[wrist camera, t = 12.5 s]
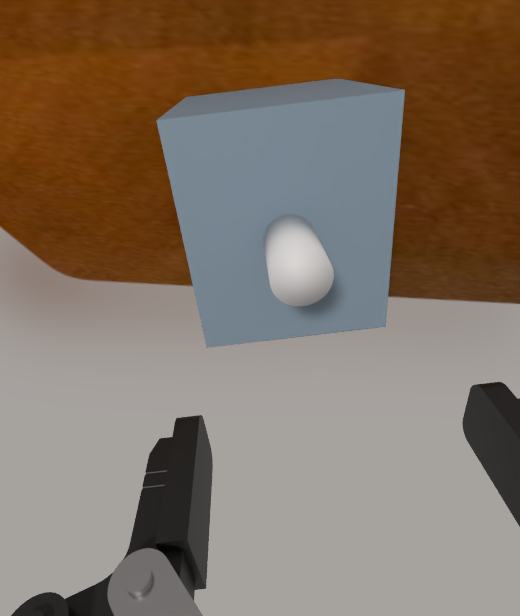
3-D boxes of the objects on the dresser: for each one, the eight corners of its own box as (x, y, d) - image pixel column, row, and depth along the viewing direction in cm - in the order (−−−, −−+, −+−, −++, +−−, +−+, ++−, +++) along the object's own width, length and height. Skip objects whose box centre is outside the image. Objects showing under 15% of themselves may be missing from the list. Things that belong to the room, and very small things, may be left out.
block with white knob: (337, 78, 33) (451, 98, 16) (337, 242, 40) (413, 374, 23) (186, 97, 33) (135, 136, 16) (215, 257, 40) (202, 399, 24)
